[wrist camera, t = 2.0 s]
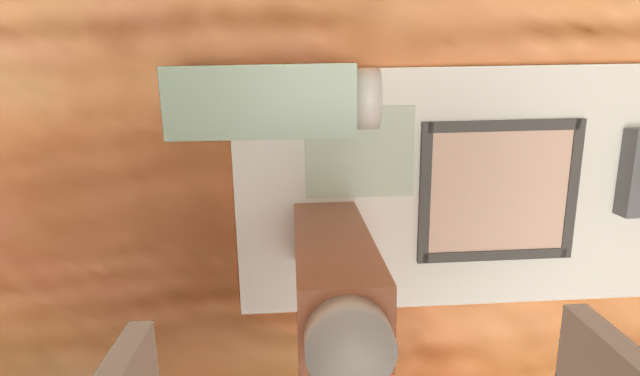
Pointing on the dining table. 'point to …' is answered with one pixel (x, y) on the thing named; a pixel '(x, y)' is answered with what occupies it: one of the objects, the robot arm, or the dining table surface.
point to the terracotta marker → (342, 294)
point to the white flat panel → (464, 187)
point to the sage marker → (268, 101)
